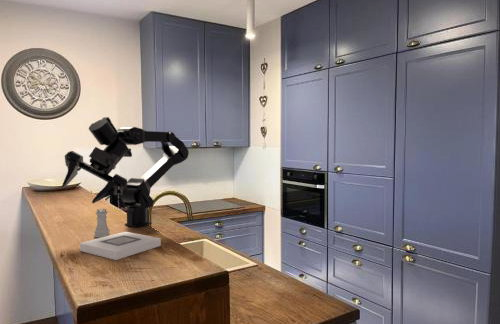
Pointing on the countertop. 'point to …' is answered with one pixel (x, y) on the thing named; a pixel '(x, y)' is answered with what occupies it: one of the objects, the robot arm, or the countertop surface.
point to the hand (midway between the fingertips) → (77, 194)
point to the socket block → (120, 245)
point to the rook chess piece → (101, 224)
